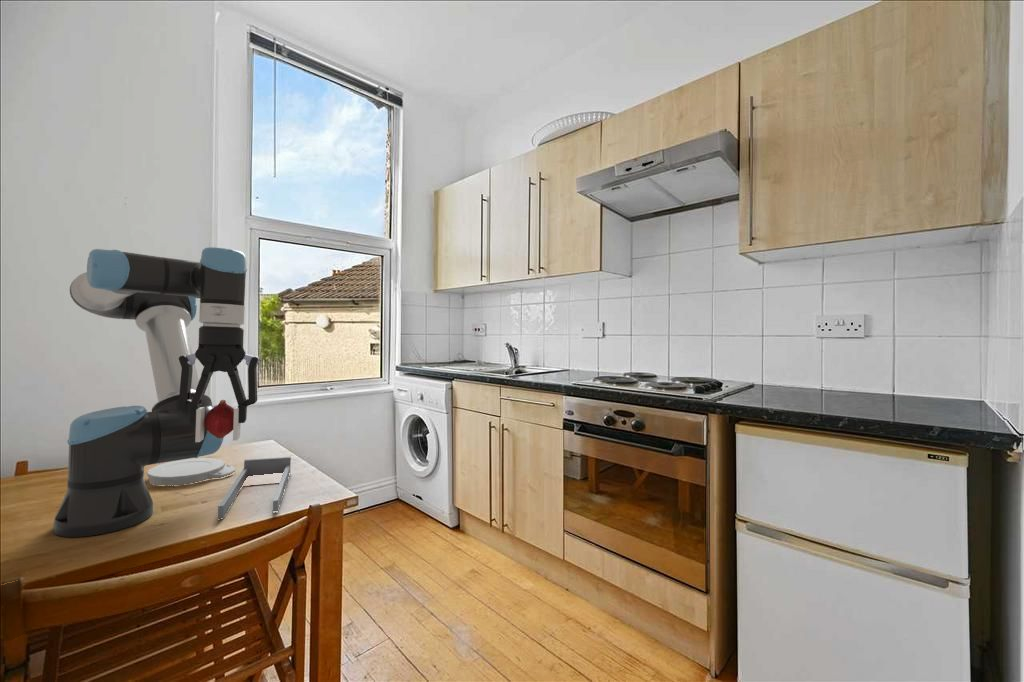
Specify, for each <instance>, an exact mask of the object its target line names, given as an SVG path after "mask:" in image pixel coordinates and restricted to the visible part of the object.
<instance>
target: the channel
mask: <svg viewBox="0 0 1024 682" xmlns="http://www.w3.org/2000/svg"><path fill="white" fill-rule="evenodd" d="M291 464H292V456H283V457H281V456H279V457H266V458H265V457H263V458H249V459H244V461H243V469H242V470H241V471H240V473H239V474H238V476H237V478H236V479H235V481H234V482H233V484H232V485H231V486H230V488H229V489H228V491H227V492H226V494H225V496H224V497H223V498H222V500H221V501H220V503H219V504H218V506H217V520H218V519H221V518H224V519H225V517H226V516H225V514H226V513H227V514H228V512H229V511H228V509H229V507H230V506H231V504H232V502H233V500H234V499H235V497H236V495H237V493H238V492H239V490H240V488H241V487H242V485H243V483H244V481H245V480H246V478H247V477H248V476H253V475H264V474H273V473H283V472H284V473H283V475H282V478H281V481H280V483H279V484H278V486H277V489H276V492H275V494H274V497H273V500H272V512H273V511H278V508H279V505H280V506H281V504H280V502H281V503H282V501H281V499H282V500H283V498H282V496H283V497H284V495H283V493H284V494H285V492H284V489H285V486H286V483H287V480H288V477H289V478H290V476H289V473H290V474H291V467H292V465H291ZM288 481H289V480H288ZM287 484H288V483H287ZM286 487H287V486H286ZM242 488H243V487H242ZM285 490H286V489H285ZM239 493H240V492H239ZM236 498H237V497H236ZM235 500H236V499H235ZM233 503H234V502H233ZM232 505H233V504H232ZM231 507H232V506H231ZM231 507H230V508H231ZM279 509H280V508H279ZM229 510H230V509H229ZM227 511H228V512H227ZM278 512H279V511H278ZM227 514H226V515H227ZM224 516H225V517H224Z"/></svg>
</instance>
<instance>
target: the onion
mask: <svg viewBox="0 0 1024 682" xmlns="http://www.w3.org/2000/svg"><path fill="white" fill-rule="evenodd" d="M216 405H217V406H215V405H214V406H215V407H214V408H212V409H211V410H210V411H209V412H208V413H207V415H206V417H205V421H204V423H205V427H206V429H207V430H208V431H209V432H210V433H211V434H212V435H214V436H216V437H217V438H223V437H224V438H225V437H226V436H227V435H229V434H230V433H232V432H233V424H234V407H232V406H231V405H229V404H228V403H227V400H225V399H221V400H220V401H219V403H218V404H216Z"/></svg>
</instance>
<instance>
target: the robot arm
mask: <svg viewBox="0 0 1024 682" xmlns="http://www.w3.org/2000/svg"><path fill="white" fill-rule="evenodd" d="M200 256H201V257H200V260H199V261H194V260H186V259H180V258H178V259H177V258H172V257H163V256H156V255H155V256H154V255H148V254H147V255H146V254H141V253H135V252H127V251H121V250H118V249H103V248H101V249H100V248H95V249H92V250H91V251H90V252H89V253H88V257H87V263H86V271H85V272H83V273H81V274H79V275H78V276H76V277H75V278H74V279H73V280H72V281H71V284H70V286H69V295H70V298H71V300H72V301H73V302H74V304H76V305H77V306H78V307H79V308H81V309H82V310H84V311H87V312H89V313H90V314H94V315H96V316H99V317H102V318H103V317H104V318H109V319H110V318H111V319H116V320H133V321H134V320H135V325H136V327H137V328H138V329H139V330H141V331H143V332H145V338H146V342H147V347H148V353H149V358H150V365H151V370H152V375H153V379H154V386H155V387H154V388H155V391H156V397H157V402H156V403H154V405H153V406H152V408H151V411H147V408H146V407H145V406H144V405H143V406H142V405H130V406H119V407H111V408H105V409H100V410H95V411H92V412H87V413H85V414H82V415H80V416H77V417H76V418H75V419H73V421H72V422H70V424H69V425H70V426H69V433H68V439H67V442H66V443H67V445H68V463H67V464H68V466H67V486H66V487H67V488H66V489H67V490H66V493H65V495H64V496H63V499H62V501H61V504H60V506H59V507H58V510H57V512H56V515H55V517H54V519H53V529H52V531H53V533H54V535H56V536H59V537H65V538H80V537H89V536H97V535H103V534H104V535H105V534H108V533H113V532H117V531H120V530H123V529H127V528H130V527H133V526H135V525H137V524H140V523H142V522H144V521H146V520H148V518H151V516H152V515H153V513H154V500H153V499H152V496H151V493H150V492H149V489H148V486H147V484H146V482H145V478H144V474H145V473H144V471H145V467H146V466H150V465H159V464H164V463H167V462H172V461H177V460H184V459H194V458H201V457H204V456H210V455H213V454H216V453H217V452H218V451H219V450H220V448H221V446H222V445H223V442H224V438H225V436H224V437H223V438H217V437H216V436H214V435H212V434H211V433H210V432H209V431H208V430H207V429H206V427H205V423H204V421H205V417H206V415H207V413H208V412H209V411H210V410H211V409H212V408H214V407H215V406H217V405H218V404H215V405H213V402H212V399H211V397H210V396H209V395H208V394H206V390H207V388H208V386H209V383H210V381H211V378H212V376H213V374H214V373H215V372H223V373H227V376H228V378H229V380H230V383H231V387H232V389H233V393H234V396H235V399H236V402H237V403H236V404H237V405H236V407H233V409H234V424H233V430H232V441H238V440H239V439H240V438H241V424H244V423H246V421H247V418H248V417H247V414H248V406H251V405H254V404H256V402H258V370H257V367H258V365H259V363H260V359H261V358H260V357H259V356H257V355H256V356H254V355H251V354H247V353H246V351H245V349H244V332H245V330H244V329H243V327H241V326H243V325H244V324H245V298H246V297H245V296H246V276H247V274H246V273H247V271H248V269H247V265H246V264H247V263H246V262H247V261H246V260H247V259H246V255H245V254H244V252H242V251H239V250H236V249H231V248H223V247H216V246H215V247H212V246H211V247H205V248H203V249H202V251H201V255H200ZM197 299H199V320H198V322H199V323H200V324H202V325H201V326H200V327H199V328H198V347H197V349H196V351H195V352H194V353H193V350H192V346H191V341H190V336H189V333H188V329H187V327H188V326H190V323H191V322H192V321H193V320H194V319H195V317H196V315H197V307H198V306H197V304H196V302H197ZM196 360H198V361H199V363H200V364H201V365H202V366H203V369H202V371H201V374H200V377H198V371H197V367H196ZM243 360H245V364H246V366H247V383H248V384H247V385H248V387H247V388H248V389H247V390H248V391H247V392H248V393H247V394H248V398H247V397H246V393H245V391H244V387H243V384H242V381H241V377H240V375H239V370H238V366H239V365H240V364H241V362H242V361H243Z"/></svg>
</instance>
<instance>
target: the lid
mask: <svg viewBox="0 0 1024 682" xmlns="http://www.w3.org/2000/svg"><path fill="white" fill-rule="evenodd" d="M233 472H235V473H236V468H235V467H234V466H232V465H230V464H226V462H225V461H224V460H223V459H219V458H214V457H212V458H211V457H198V458H189V459H183V460H177V461H170V462H164V463H159V464H156V465H155V466H153V467H150V469H148V470H147V471H146V475H147V478H148V483H151V484H154V485H165V486H168V485H169V486H170V485H171V486H172V485H173V486H174V485H184V484H190V483H195V482H199V481H203V480H206V479H212V478H221V477H224V476H227V475H230V474H232V473H233ZM151 484H150V485H151ZM154 485H153V486H154Z"/></svg>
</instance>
